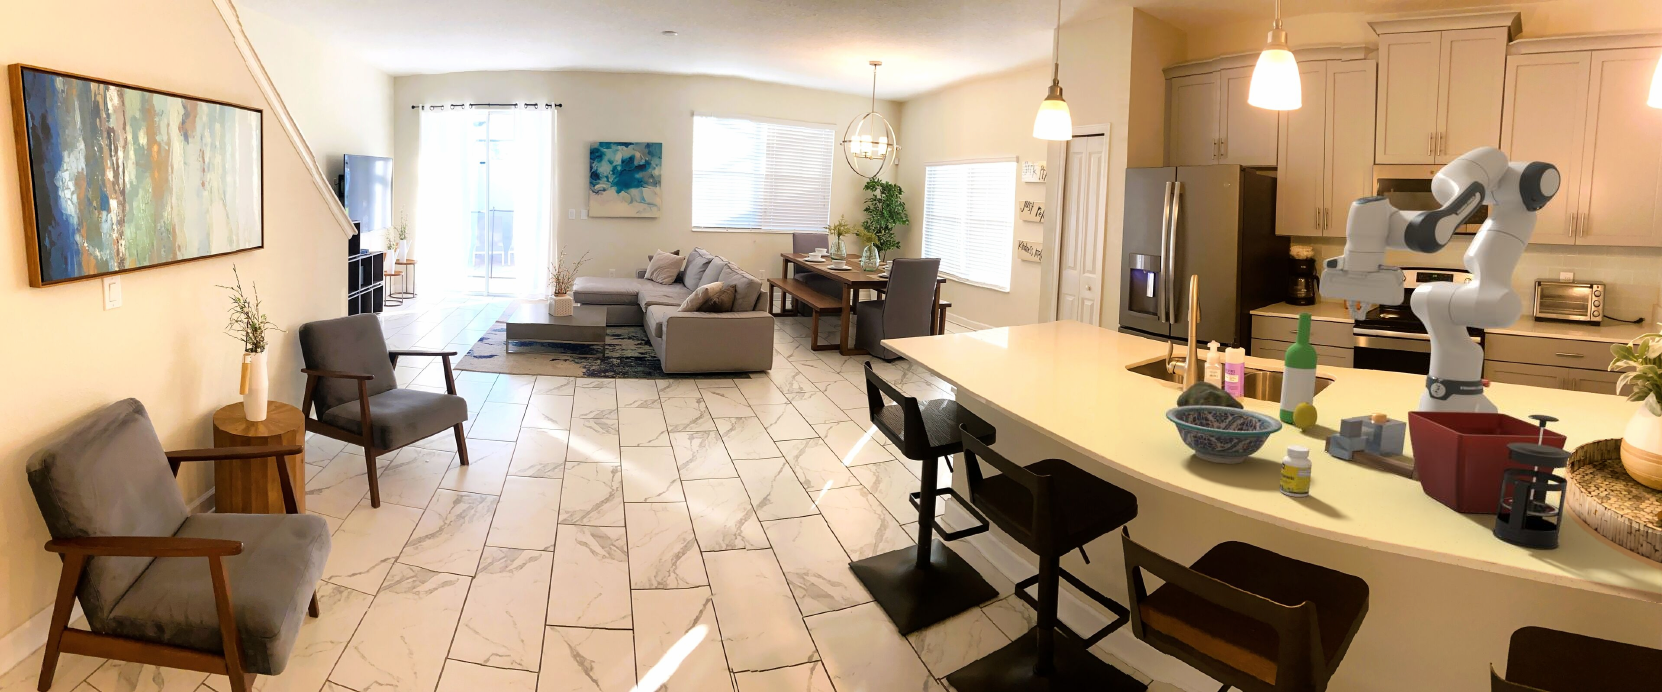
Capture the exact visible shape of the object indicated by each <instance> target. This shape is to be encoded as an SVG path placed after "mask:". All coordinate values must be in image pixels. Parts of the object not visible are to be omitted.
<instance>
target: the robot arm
mask: <svg viewBox="0 0 1662 692" xmlns="http://www.w3.org/2000/svg"><path fill="white" fill-rule="evenodd" d="M1561 180H1562V179H1561V174H1560V172H1559V169H1558V168H1557V166H1556V165H1555V164H1552V163H1550V162H1546V161H1537V160H1535V161H1532V162H1531V161H1509V159H1508V157H1507V155H1506V153H1505V152H1503V151H1502V149H1499V148H1497V147H1494V146H1487V145H1486V146H1481V147H1478V148H1474V149H1473V150H1470V151H1468V152H1466V153H1464V154H1462V155H1460V156H1458V157H1457V158H1455V159H1453V160H1452V161H1451V162H1449V163H1448V164H1446V165H1445V166H1443V167H1442V168H1440V170H1439V171H1437V172H1436V173H1435V175H1434V177H1433V178H1432V181H1431V184H1430V185H1431V193H1432V195H1433V197H1434V199H1435V200H1436V201H1437V202H1438V203H1439V204H1440V205H1441V208H1439V209H1434V210H1400V209H1399V208H1397V207H1394V206H1393V205H1392V204H1391V203H1390V200H1389V198H1388V197H1386V196H1382V195H1377V196H1376V195H1375V196H1365V197H1360V198H1357V199H1355V200H1353V202H1352V203H1351V206H1350V208H1349V211H1348V216H1347V219H1346V220H1347V222H1346V228H1345V229H1346V230H1345V236H1346V243H1345V246H1344V249H1343V254H1342V255H1339V256H1335V257H1332V258H1329V259H1326V260H1323V265H1322V266H1323V268H1324V270H1323V271H1322V272H1321V276H1320V279H1319V289H1318V291H1319V292H1318V293H1319V295H1320V296H1321V297H1322V298H1328V299H1329V298H1330V299H1338V300H1343V301H1344V300H1346V306H1347V309H1348V311H1349V319H1351V320H1358V321H1364V320H1366V316H1367V315H1366V314H1367V313H1368V311H1369V310H1370V309H1371V307H1372V304H1377V305H1378V304H1379V305H1385V306H1399V305H1401V304H1402V303H1403V302H1404V299H1405V297H1404V296H1405V286H1404V285H1405V284H1404V283H1405V282H1404V279H1405V272H1404V271H1403V269H1401V268H1400V267H1399V266H1398V265H1397V266H1396V265H1392V266H1391V265H1387V264H1385V262H1386V255H1387V250H1392V251H1393V250H1394V251H1405V252H1406V251H1407V252H1408V251H1409V252H1416V253H1423V254H1435V253H1438V252H1439V251H1441V250H1442V249H1443V248H1445V247H1446V246H1447V245H1448V243H1449V242H1451V239H1452V237H1453V235H1454V234H1455V233H1456V232H1457V231H1458V229H1459V228H1460V227H1462V225H1463V224H1464V223H1466V222H1467V221H1468V219H1470V218H1471V217H1472V216H1473V215H1474V214H1475V213H1476V212H1477V210H1479V209H1480V207H1482V205H1485V206H1492V207H1491V212H1490V214H1489V216H1488V217H1487V218H1486V219H1485V221H1484V222H1483V223H1482V225H1481V226H1480V228H1479V229H1478V231H1477V232H1476V234H1475V236H1474V238H1473V239H1472V241H1471V243H1470V244H1469V246H1468V248H1467V250H1466V251H1465V253H1464V255H1463V265H1464V267H1465V268H1466V270H1467V271H1468V272H1469V273H1470V274H1472V275H1473V276H1472V278H1471V281H1470V282H1466V283H1465V282H1464V283H1462V282H1453V281H1441V280H1440V281H1431V282H1430V281H1429V282H1423V283H1421V284H1420V285H1418V286H1417V287H1416V288H1415V289H1414V291H1413V292H1412V294H1411V297H1410V307H1411V311H1412V312H1413V314H1414V315H1415V316H1416V317H1417V318H1418V319H1419V320H1420V321H1421V322H1422V324H1423V325H1424V327H1425V329H1426V331H1427V334H1428V336H1429V337H1428V338H1429V340H1430V348H1431V350H1430V351H1431V352H1430V362H1429V363H1430V364H1429V371H1428V372H1429V373H1428V374H1427V375H1426V378H1425V388H1426V389H1425V391H1422V393H1420V398H1419V400H1418V401H1419V402H1418V406H1417V409H1416V411H1434V412H1478V413H1499V408H1498V407H1497V406H1496V405H1495V403H1493V402H1492V401H1491V400H1490V399H1489V398H1488V397H1487V396H1486V395H1485V394H1484V391H1485V390H1484V388H1490V386H1491V383H1492V382H1491V380H1489V379H1484V378H1481V377H1482V371H1483V370H1482V369H1483V363H1484V362H1483V361H1484V355H1485V354H1484V350H1483V348H1482V347H1481V345H1480V344H1479V343H1477V342H1475V341H1474V340H1473V339H1472V337H1470V335H1469V332H1468V330H1467V327H1469V328H1470V327H1471V328H1478V329H1484V330H1492V329H1493V330H1494V329H1495V330H1496V329H1507V328H1508V329H1509V328H1510V327H1512V326H1513V325H1514V324H1516V323H1517V322H1518V320H1519V319H1520V318H1521V315H1522V314H1523V307H1524V306H1523V301H1522V299H1521V296H1520V295H1519V294H1518V293H1517V292H1516V291H1515V289H1514V288H1513V284H1512V277H1513V274H1514V270H1515V269H1516V267H1517V265H1518V262H1519V260H1520V258H1521V257H1522V255H1523V253H1524V251H1525V250H1526V248H1527V246H1528V244H1529V242H1530V240H1531V238H1532V235H1533V233H1534V230H1535V227H1536V224H1537V221H1538V214H1537V212H1539V210H1542V209H1543V208H1544V207H1545V206H1546V205H1547V203H1549V202H1551V200H1552V199H1553V198H1554V196H1556V194H1557V192H1558V191H1559V190H1560V186H1561ZM1358 302H1360V303H1359V306H1360V307H1361V308H1360V309H1359V311H1358V309H1357V306H1356V305H1358Z"/></svg>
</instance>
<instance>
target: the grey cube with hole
mask: <svg viewBox="0 0 1662 692" xmlns="http://www.w3.org/2000/svg"><path fill="white" fill-rule="evenodd" d="M1351 418H1356V419H1360V420H1363V422H1362V431H1361V435H1362V436H1366V437H1369V447H1368V453H1372V454H1375V455H1378V456H1382V457H1385V458H1389V457H1391V458H1392V457H1396V456H1402V455H1403V454H1404V446H1405V438H1406V430H1407V422H1406V421H1402V420H1398V419H1394V418H1390V417H1387V419H1386V422H1377V421H1373V420H1372V414H1369V415H1361V416H1352V417H1351Z"/></svg>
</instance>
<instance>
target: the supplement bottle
mask: <svg viewBox="0 0 1662 692" xmlns="http://www.w3.org/2000/svg"><path fill="white" fill-rule="evenodd" d="M1286 454H1287V455H1286V456H1284V457H1283V458H1282V462H1281V470H1280V471H1281V472H1280V479H1279V480H1280V481H1279V491H1280V492H1281V493H1282V494H1283V493H1284V494H1283V495H1286V496H1288V497H1289V496H1290V497H1295V498H1303V497H1307V496H1309V494H1310V486H1311V485H1310V484H1311V474H1312V466H1313V463H1312V461H1311V459H1309V458H1308V457H1309V456H1310V449H1309V447H1305V446H1301V445H1288V446H1287V450H1286Z"/></svg>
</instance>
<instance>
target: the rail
mask: <svg viewBox="0 0 1662 692" xmlns="http://www.w3.org/2000/svg"><path fill="white" fill-rule="evenodd" d="M1331 435H1332V434H1330V435H1326V436H1325V443H1324V445H1325V446H1324V452H1325V451H1327V452H1329V447H1330V438H1331ZM1327 452H1326V453H1327ZM1353 460H1354V462H1356V461H1358V462H1357V463H1359V462H1360V464H1363V465H1366V464H1367V466H1369V465H1370V467H1372V466H1373V467H1372V468H1376V469H1380V470H1381V471H1382V470H1383V471H1385V472H1388V471H1389V472H1388V473H1393V474H1395V475H1399V476H1401V477H1405V478H1408V479H1412V480H1414V481H1420V479H1419V475H1418V472H1417V468H1416V465H1415V460H1414V461H1413V465H1412V464H1409V463H1405V462H1401V461H1398V460H1395V459H1391V458H1389V457H1382V456H1378V455H1375V454H1372V453H1368V452H1365V451H1361V450H1358V451H1352V459H1351V461H1353Z"/></svg>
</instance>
